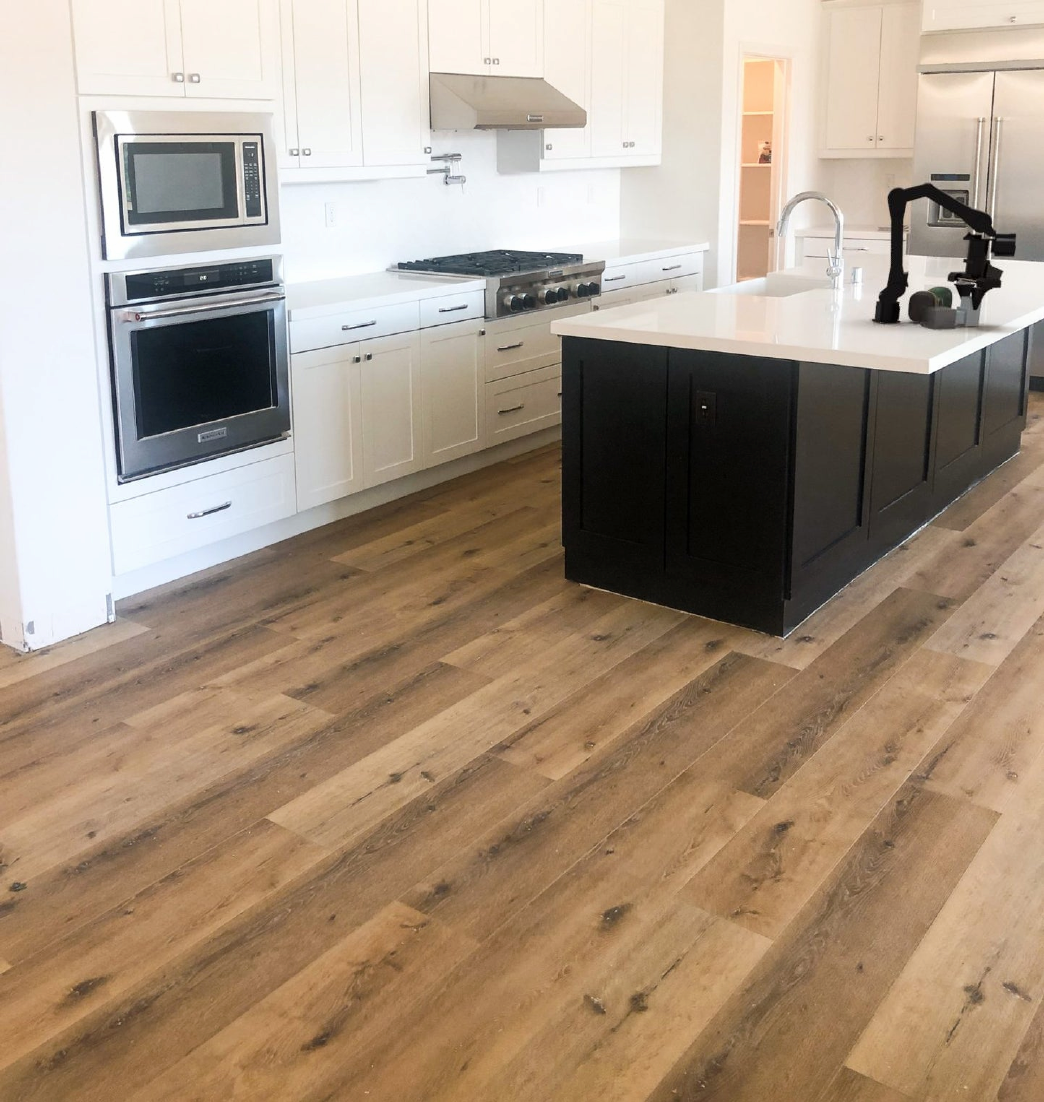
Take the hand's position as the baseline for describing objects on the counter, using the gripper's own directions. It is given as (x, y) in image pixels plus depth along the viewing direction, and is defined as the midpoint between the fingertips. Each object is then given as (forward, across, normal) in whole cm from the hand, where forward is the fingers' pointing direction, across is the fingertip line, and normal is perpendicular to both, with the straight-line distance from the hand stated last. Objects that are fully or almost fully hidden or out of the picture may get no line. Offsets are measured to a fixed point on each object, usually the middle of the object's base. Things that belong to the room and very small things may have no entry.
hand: (970, 309), depth 363 cm
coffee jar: (0, +18, -2) cm, 19 cm away
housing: (+5, 0, +11) cm, 12 cm away
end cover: (+5, 0, +3) cm, 6 cm away
